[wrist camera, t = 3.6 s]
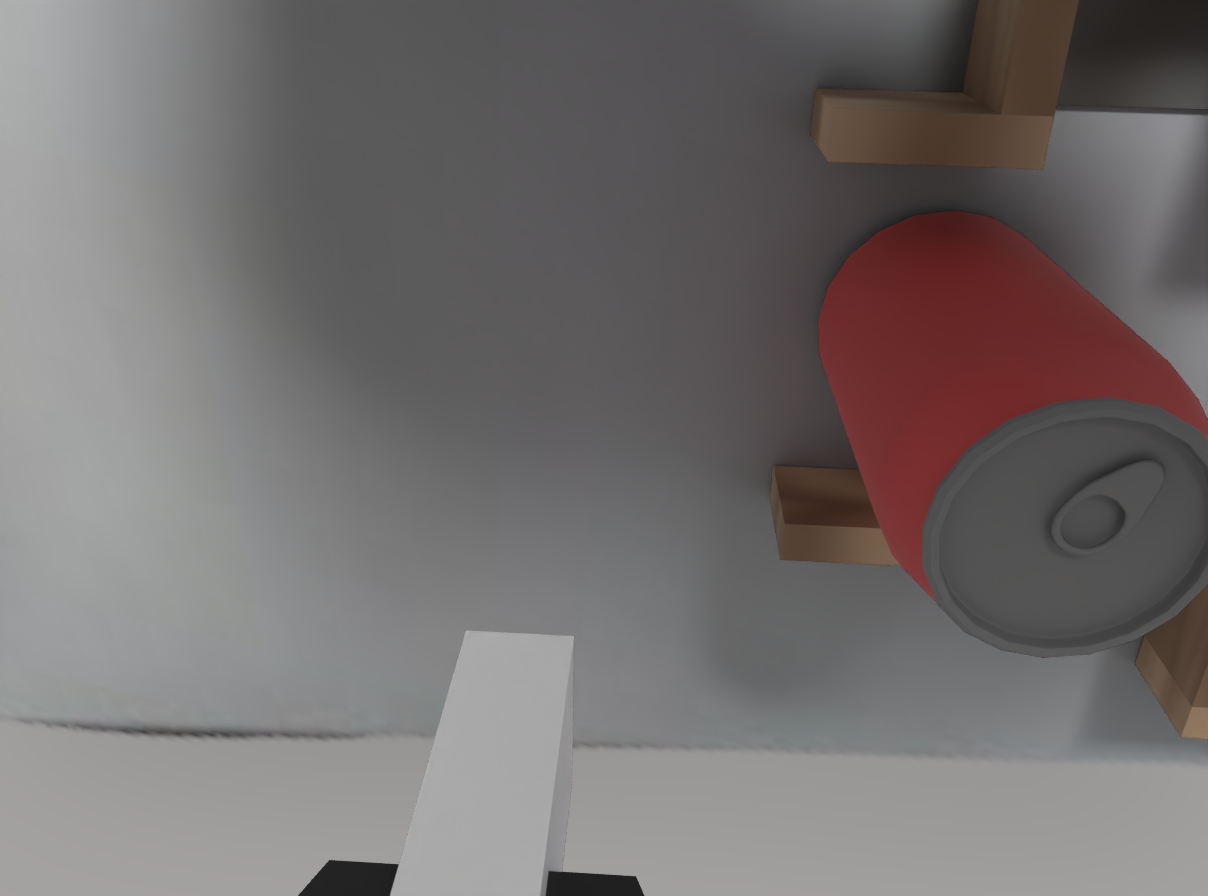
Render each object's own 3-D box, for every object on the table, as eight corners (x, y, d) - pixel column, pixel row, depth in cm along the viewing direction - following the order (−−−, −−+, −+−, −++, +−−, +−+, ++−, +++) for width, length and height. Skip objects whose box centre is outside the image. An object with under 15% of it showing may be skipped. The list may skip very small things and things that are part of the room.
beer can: (1098, 300, 29) (1348, 517, 18) (929, 461, 32) (1062, 734, 21) (930, 154, 28) (1096, 300, 17) (767, 336, 30) (821, 562, 19)
